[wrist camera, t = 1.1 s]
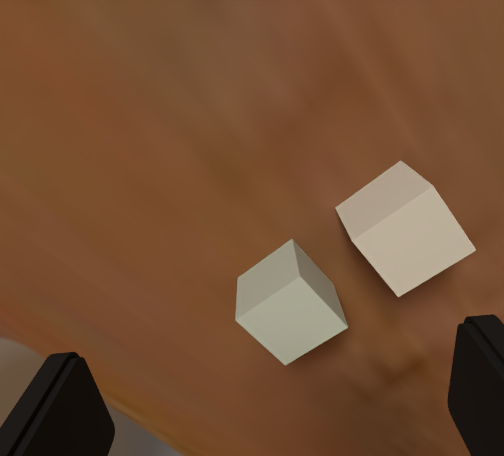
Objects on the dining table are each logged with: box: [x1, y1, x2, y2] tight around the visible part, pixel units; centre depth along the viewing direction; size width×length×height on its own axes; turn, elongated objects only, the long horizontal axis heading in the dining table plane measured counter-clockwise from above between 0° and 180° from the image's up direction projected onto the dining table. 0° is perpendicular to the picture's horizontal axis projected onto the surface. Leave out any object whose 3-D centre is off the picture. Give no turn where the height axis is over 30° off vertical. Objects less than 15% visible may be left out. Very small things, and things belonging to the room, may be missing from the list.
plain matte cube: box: [235, 239, 348, 365], centre depth 33 cm, size 6×6×6 cm
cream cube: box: [335, 161, 476, 297], centre depth 30 cm, size 6×6×6 cm
